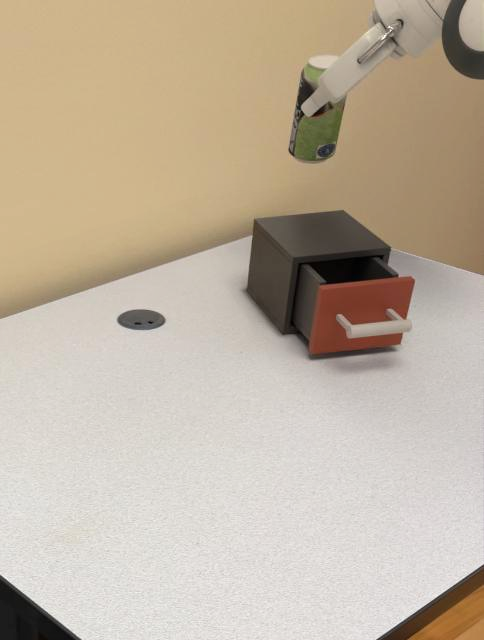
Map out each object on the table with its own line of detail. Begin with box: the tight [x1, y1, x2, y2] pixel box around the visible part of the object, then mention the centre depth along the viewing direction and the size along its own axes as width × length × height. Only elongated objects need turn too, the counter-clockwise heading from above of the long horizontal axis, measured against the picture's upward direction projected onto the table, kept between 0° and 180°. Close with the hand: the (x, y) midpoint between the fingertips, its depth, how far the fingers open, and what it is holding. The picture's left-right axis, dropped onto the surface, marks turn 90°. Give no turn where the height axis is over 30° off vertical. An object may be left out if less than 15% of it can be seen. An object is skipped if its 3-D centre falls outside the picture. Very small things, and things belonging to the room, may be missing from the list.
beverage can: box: [287, 53, 348, 165], centre depth 114 cm, size 6×7×12 cm
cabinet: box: [246, 209, 392, 335], centre depth 115 cm, size 15×12×10 cm
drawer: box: [291, 255, 416, 355], centre depth 106 cm, size 18×11×8 cm, turn 8°
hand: (311, 105), depth 113 cm, fingers closed on beverage can, 5 cm apart
